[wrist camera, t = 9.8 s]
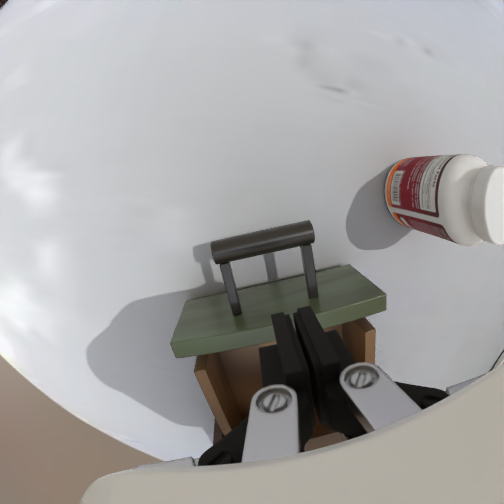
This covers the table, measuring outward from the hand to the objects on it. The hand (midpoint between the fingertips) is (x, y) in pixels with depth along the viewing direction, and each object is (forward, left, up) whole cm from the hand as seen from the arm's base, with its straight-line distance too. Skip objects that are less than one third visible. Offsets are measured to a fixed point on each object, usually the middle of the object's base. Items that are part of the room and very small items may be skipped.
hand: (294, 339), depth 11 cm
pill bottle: (-14, -3, -11) cm, 18 cm away
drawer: (0, +6, -10) cm, 12 cm away
